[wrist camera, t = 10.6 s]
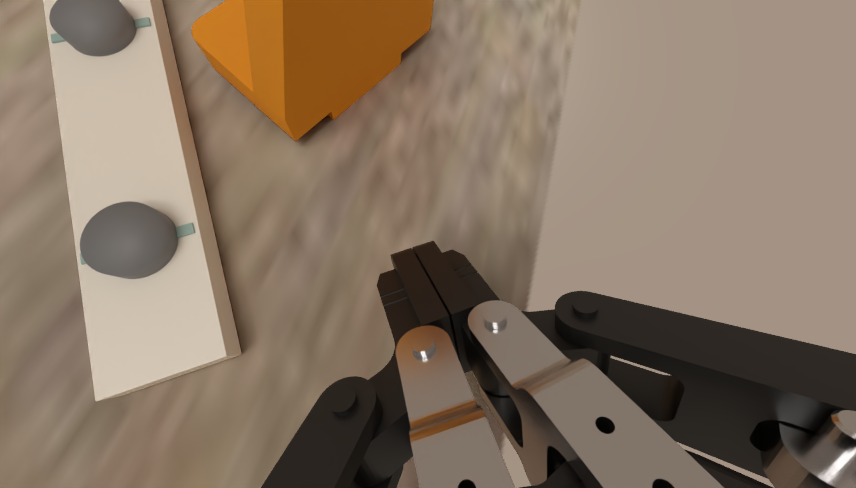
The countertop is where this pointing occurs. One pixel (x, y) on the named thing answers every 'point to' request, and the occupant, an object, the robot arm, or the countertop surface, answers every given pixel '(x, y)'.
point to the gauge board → (135, 198)
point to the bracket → (308, 51)
